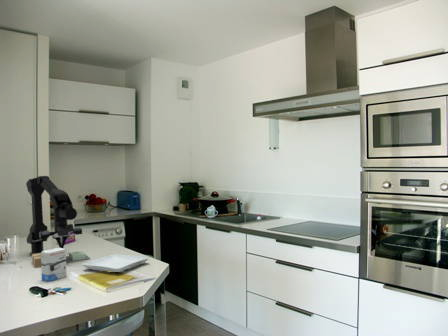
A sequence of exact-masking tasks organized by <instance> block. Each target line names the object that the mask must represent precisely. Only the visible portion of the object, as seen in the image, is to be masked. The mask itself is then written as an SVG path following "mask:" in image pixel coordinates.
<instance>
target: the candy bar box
mask: <svg viewBox="0 0 448 336" xmlns="http://www.w3.org/2000/svg"><path fill="white" fill-rule="evenodd" d="M67 224H68V225H69V224H73V228H75V225H76V224H75V219H73V220H67ZM69 236H70V237H68V238H67V240H66V242H65V245H68V244H70V243H74V242H75V241H76V234H74V233H70V234H69ZM60 237H61V240H62V236H60Z"/></svg>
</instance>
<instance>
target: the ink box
mask: <svg viewBox="0 0 448 336" xmlns="http://www.w3.org/2000/svg"><path fill="white" fill-rule="evenodd" d="M66 256H67V249H66V248H59V247H55V248H51V249H50V248H49V249H45V250H43V251H42V252H41V267H40V268H41V270H40V271H41V281H44V282H49V283H50V282H53V281H56V280H59V279H63V278H65V277H68V276H67V272H68V271H67V263H66Z"/></svg>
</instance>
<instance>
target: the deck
mask: <svg viewBox="0 0 448 336" xmlns="http://www.w3.org/2000/svg"><path fill="white" fill-rule="evenodd" d="M31 263H32V265H33V267H34V268H41V253H36V254H32V255H31Z"/></svg>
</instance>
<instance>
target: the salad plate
mask: <svg viewBox="0 0 448 336" xmlns="http://www.w3.org/2000/svg"><path fill="white" fill-rule="evenodd" d="M148 260H149V257H146V256H140V255H132V254H129V255H128V254H119V253H114V254H111V255H110V254H109V255H107V256H104V257H103V256H102V257H101V258H97V259H94V260H90V261H87V262H84V263H82V266H83V267H84V268H86V269H89V270H93V271H95V270H101V271H100V272H102V271H111V272H120V273H122V272H121V271H123V272H125V271H124V270H126V269H128V270H131V269H134V268H135V267H138V266H141V265H142V264H144V263H146V262H147V261H148ZM126 271H127V270H126Z"/></svg>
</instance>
